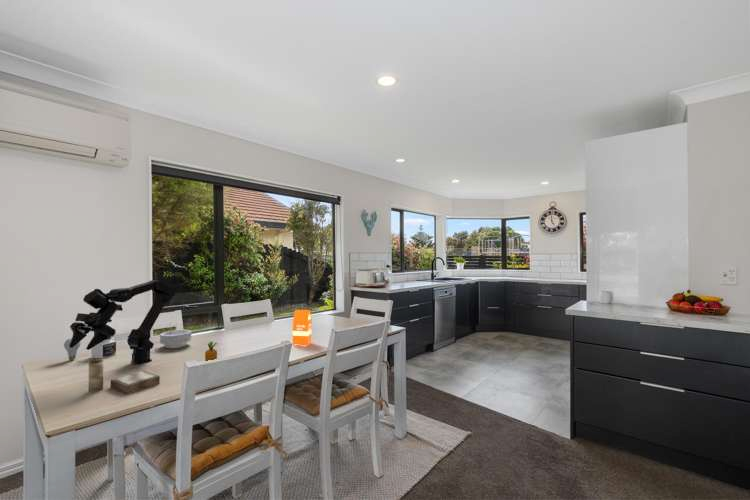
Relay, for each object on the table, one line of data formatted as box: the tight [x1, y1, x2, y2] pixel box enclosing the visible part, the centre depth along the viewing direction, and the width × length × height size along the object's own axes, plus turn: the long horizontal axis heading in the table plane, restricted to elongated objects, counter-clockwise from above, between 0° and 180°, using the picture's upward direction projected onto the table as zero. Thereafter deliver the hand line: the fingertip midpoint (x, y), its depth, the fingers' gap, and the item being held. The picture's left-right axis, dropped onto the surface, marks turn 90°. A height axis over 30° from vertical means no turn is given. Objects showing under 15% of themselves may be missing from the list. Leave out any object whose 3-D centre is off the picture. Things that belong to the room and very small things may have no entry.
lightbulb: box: [63, 337, 82, 361], centre depth 168 cm, size 6×6×11 cm
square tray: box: [110, 370, 161, 395], centre depth 138 cm, size 12×12×3 cm
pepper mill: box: [88, 358, 105, 393], centre depth 133 cm, size 4×4×12 cm
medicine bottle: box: [90, 337, 117, 360], centre depth 175 cm, size 7×7×12 cm
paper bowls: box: [159, 329, 192, 349], centre depth 194 cm, size 15×15×8 cm
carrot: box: [204, 341, 218, 361], centre depth 150 cm, size 5×5×15 cm
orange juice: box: [292, 309, 312, 346], centre depth 201 cm, size 8×9×20 cm
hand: (78, 348), depth 140 cm, fingers open, 9 cm apart
